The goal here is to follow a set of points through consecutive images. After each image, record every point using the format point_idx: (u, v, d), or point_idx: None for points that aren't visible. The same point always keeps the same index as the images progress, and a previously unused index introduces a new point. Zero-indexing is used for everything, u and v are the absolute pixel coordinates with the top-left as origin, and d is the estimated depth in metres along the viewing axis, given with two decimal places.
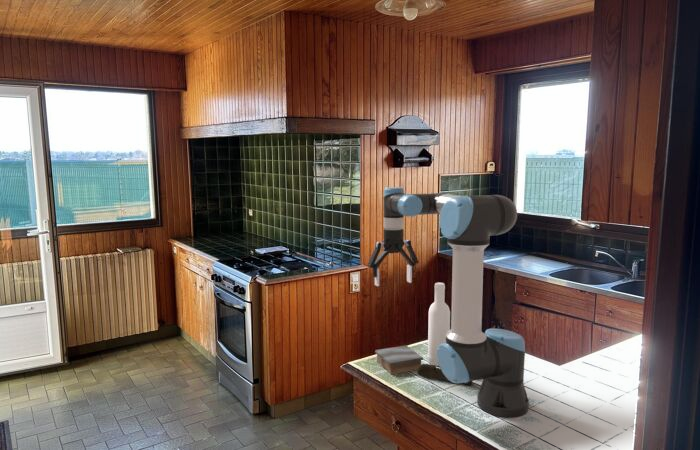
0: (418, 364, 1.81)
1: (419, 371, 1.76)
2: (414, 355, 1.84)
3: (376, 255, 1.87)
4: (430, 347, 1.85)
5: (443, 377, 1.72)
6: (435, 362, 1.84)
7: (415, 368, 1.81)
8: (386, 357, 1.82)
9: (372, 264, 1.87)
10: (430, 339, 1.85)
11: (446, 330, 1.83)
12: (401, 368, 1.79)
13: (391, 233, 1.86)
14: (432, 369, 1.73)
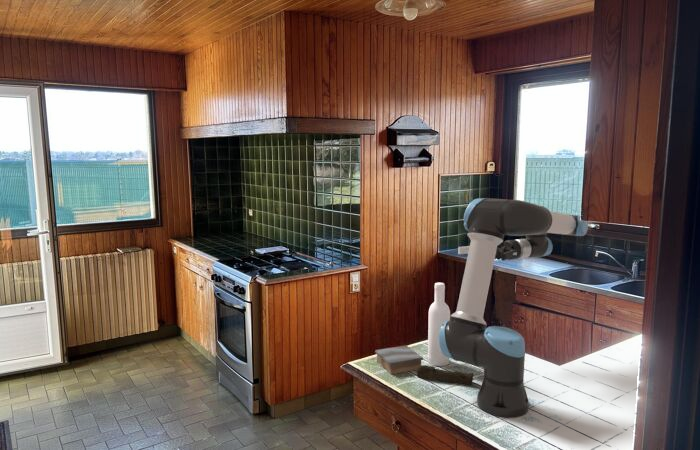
0: (418, 364, 1.81)
1: (418, 373, 1.75)
2: (414, 355, 1.84)
3: None
4: (430, 347, 1.85)
5: (443, 378, 1.71)
6: (435, 362, 1.84)
7: (415, 368, 1.81)
8: (386, 357, 1.82)
9: None
10: (430, 339, 1.85)
11: None
12: (401, 368, 1.79)
13: None
14: (432, 370, 1.72)
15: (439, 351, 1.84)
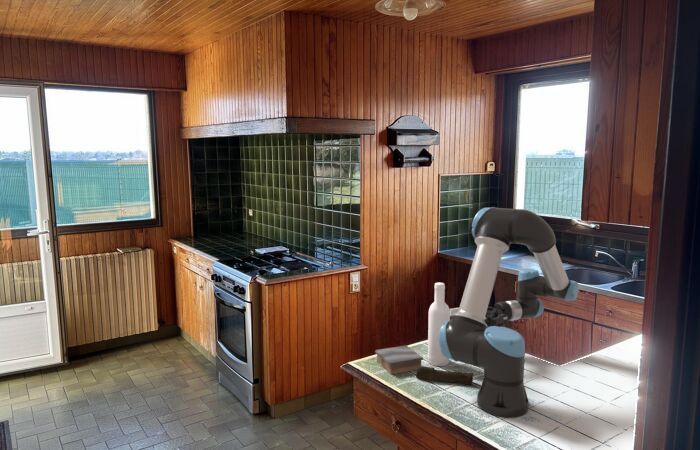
0: (418, 364, 1.81)
1: (418, 374, 1.74)
2: (414, 355, 1.84)
3: None
4: (430, 347, 1.85)
5: (443, 379, 1.71)
6: (435, 362, 1.84)
7: (415, 368, 1.81)
8: (386, 357, 1.82)
9: None
10: (430, 339, 1.85)
11: None
12: (401, 368, 1.79)
13: None
14: (432, 371, 1.72)
15: (439, 351, 1.84)
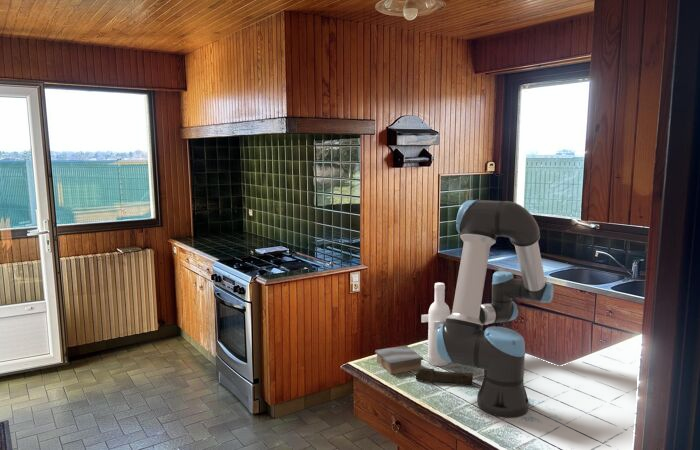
0: (418, 364, 1.81)
1: (417, 376, 1.72)
2: (414, 355, 1.84)
3: None
4: (430, 347, 1.85)
5: (443, 379, 1.70)
6: (435, 362, 1.84)
7: (415, 368, 1.81)
8: (386, 357, 1.82)
9: None
10: (430, 339, 1.85)
11: None
12: (401, 368, 1.79)
13: None
14: (432, 373, 1.71)
15: None
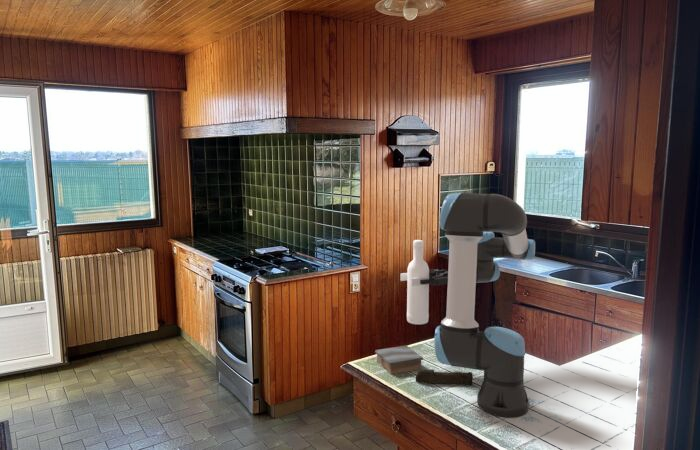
0: (418, 364, 1.81)
1: (418, 378, 1.71)
2: (414, 355, 1.84)
3: None
4: (409, 305, 1.83)
5: (444, 380, 1.70)
6: (414, 320, 1.82)
7: (415, 368, 1.81)
8: (386, 357, 1.82)
9: None
10: (409, 297, 1.83)
11: (425, 287, 1.81)
12: (401, 368, 1.79)
13: None
14: (432, 374, 1.70)
15: (417, 309, 1.81)
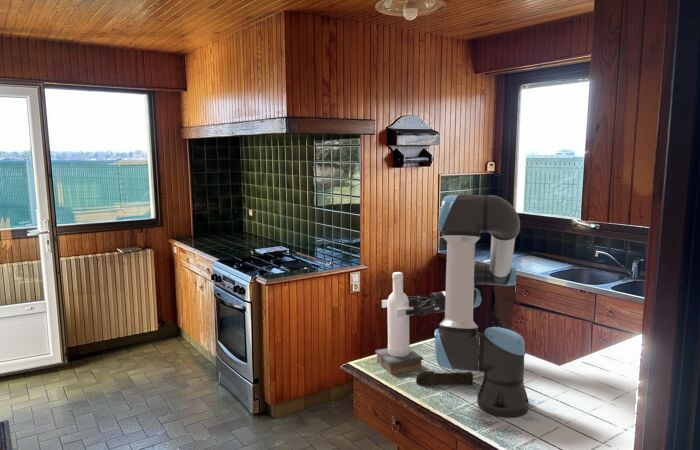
0: (418, 364, 1.81)
1: (418, 380, 1.69)
2: (414, 355, 1.84)
3: (409, 296, 1.92)
4: (389, 338, 1.82)
5: (445, 381, 1.69)
6: (395, 353, 1.81)
7: (415, 368, 1.81)
8: (386, 357, 1.82)
9: None
10: (389, 329, 1.82)
11: (405, 320, 1.80)
12: (401, 368, 1.79)
13: None
14: (433, 375, 1.69)
15: (398, 342, 1.81)
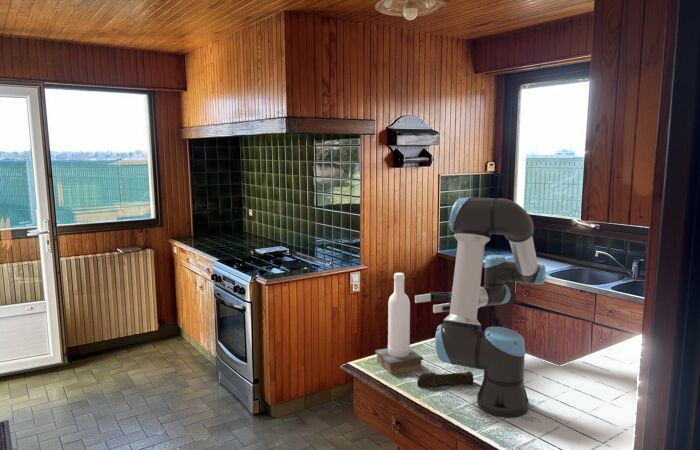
0: (418, 364, 1.81)
1: (420, 382, 1.68)
2: (414, 355, 1.84)
3: (441, 292, 1.97)
4: (390, 338, 1.82)
5: (446, 382, 1.68)
6: (395, 353, 1.81)
7: (415, 368, 1.81)
8: (386, 357, 1.82)
9: (431, 292, 1.98)
10: (390, 330, 1.82)
11: (405, 321, 1.80)
12: (401, 368, 1.79)
13: None
14: (434, 377, 1.67)
15: (398, 342, 1.80)
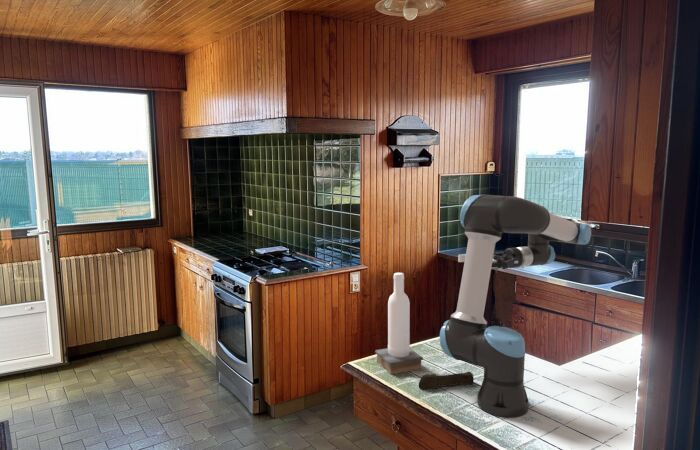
0: (418, 364, 1.81)
1: (421, 384, 1.66)
2: (414, 355, 1.84)
3: None
4: (390, 338, 1.82)
5: (447, 383, 1.67)
6: (395, 353, 1.81)
7: (415, 368, 1.81)
8: (386, 357, 1.82)
9: None
10: (389, 330, 1.82)
11: (405, 321, 1.80)
12: (401, 368, 1.79)
13: None
14: (436, 378, 1.66)
15: (398, 342, 1.80)
